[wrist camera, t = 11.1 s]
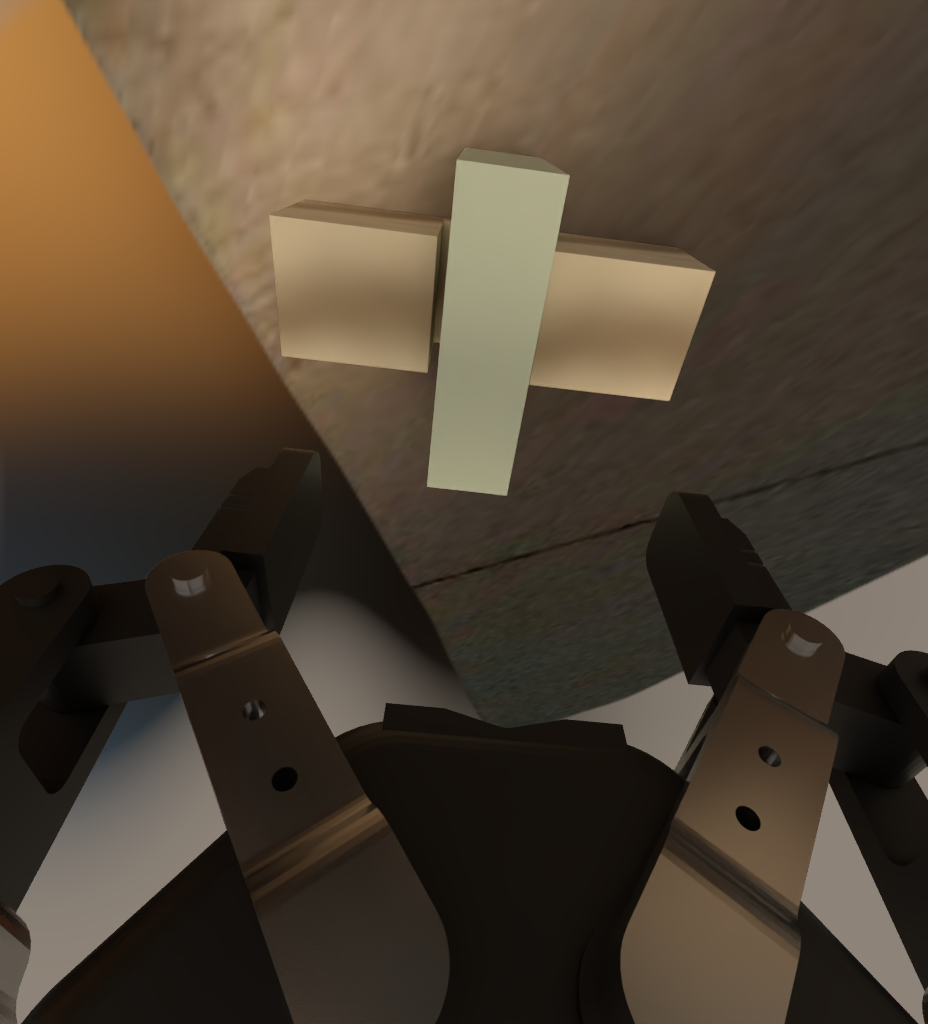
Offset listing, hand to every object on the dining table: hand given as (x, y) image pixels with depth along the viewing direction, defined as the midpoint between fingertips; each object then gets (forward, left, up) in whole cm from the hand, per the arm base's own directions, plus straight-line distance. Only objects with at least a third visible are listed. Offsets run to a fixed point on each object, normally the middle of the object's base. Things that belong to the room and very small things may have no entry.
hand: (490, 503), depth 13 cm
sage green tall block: (0, 0, -19) cm, 19 cm away
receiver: (0, 0, -20) cm, 20 cm away
